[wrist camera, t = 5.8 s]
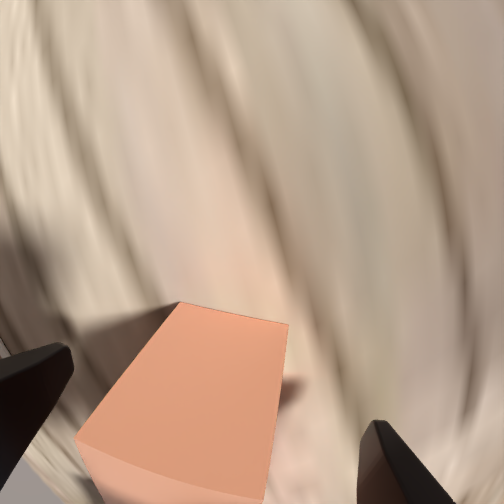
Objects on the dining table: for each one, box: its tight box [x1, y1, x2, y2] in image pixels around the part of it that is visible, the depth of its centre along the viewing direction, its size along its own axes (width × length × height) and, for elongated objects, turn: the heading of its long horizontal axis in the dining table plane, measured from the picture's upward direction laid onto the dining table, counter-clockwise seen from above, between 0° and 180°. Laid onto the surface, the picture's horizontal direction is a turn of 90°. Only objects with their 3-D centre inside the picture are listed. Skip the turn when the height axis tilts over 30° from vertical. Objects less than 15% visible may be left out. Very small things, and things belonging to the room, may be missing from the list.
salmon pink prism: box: [74, 302, 289, 504], centre depth 9 cm, size 13×4×6 cm, turn 172°
